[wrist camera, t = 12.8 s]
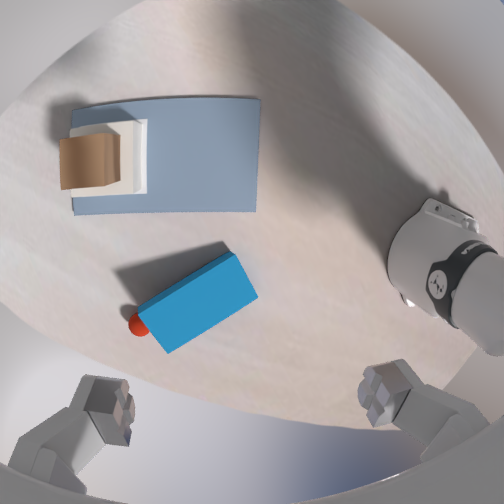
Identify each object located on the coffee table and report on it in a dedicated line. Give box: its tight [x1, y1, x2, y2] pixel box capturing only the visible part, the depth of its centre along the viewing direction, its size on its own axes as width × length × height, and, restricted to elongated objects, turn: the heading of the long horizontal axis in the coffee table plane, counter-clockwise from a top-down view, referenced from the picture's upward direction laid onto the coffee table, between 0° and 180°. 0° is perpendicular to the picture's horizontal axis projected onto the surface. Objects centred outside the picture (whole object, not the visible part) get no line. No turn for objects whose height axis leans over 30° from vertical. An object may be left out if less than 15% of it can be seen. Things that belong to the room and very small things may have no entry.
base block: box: [70, 121, 142, 197], centre depth 29 cm, size 8×8×4 cm
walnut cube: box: [60, 133, 121, 190], centre depth 25 cm, size 5×5×5 cm
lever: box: [128, 251, 258, 354], centre depth 38 cm, size 7×7×18 cm
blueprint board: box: [71, 98, 261, 216], centre depth 32 cm, size 24×14×1 cm, turn 88°
